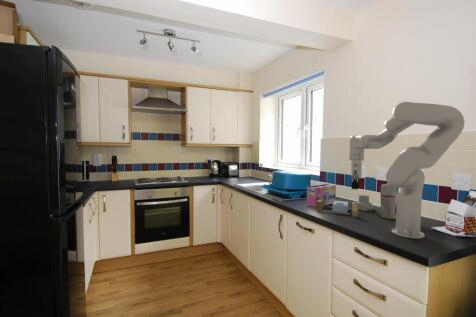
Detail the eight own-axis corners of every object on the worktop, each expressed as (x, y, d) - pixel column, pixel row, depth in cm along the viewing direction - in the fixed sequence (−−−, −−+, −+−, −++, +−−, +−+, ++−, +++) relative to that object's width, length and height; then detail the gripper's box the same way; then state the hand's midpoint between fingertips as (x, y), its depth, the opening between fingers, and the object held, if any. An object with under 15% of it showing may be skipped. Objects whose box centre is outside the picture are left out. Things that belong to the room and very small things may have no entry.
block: (346, 214, 149) (346, 205, 149) (332, 212, 153) (332, 204, 152) (348, 209, 160) (348, 201, 159) (334, 208, 163) (334, 200, 163)
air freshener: (375, 211, 160) (375, 195, 160) (369, 213, 155) (369, 197, 155) (358, 208, 169) (358, 193, 168) (351, 210, 164) (352, 194, 163)
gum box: (327, 202, 187) (327, 183, 187) (337, 204, 181) (337, 185, 180) (306, 206, 173) (306, 186, 172) (316, 208, 167) (316, 188, 166)
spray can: (392, 220, 141) (393, 184, 140) (377, 216, 147) (378, 182, 147) (399, 218, 145) (400, 183, 144) (384, 214, 152) (385, 181, 151)
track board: (350, 216, 147) (350, 213, 147) (316, 212, 155) (316, 209, 155) (351, 211, 160) (351, 208, 160) (320, 207, 169) (320, 204, 169)
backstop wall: (320, 211, 154) (320, 201, 154) (316, 211, 155) (316, 201, 155) (324, 206, 168) (324, 197, 167) (320, 206, 169) (320, 197, 168)
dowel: (357, 219, 142) (358, 203, 142) (351, 218, 144) (352, 202, 143) (357, 217, 145) (358, 202, 145) (352, 217, 146) (352, 201, 146)
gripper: (363, 158, 134) (362, 190, 134) (364, 157, 149) (363, 186, 150) (348, 158, 137) (346, 189, 138) (350, 156, 152) (349, 185, 153)
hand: (355, 187), depth 144 cm, fingers open, 9 cm apart
